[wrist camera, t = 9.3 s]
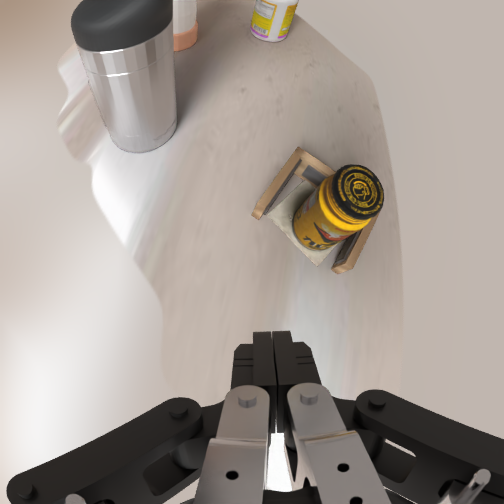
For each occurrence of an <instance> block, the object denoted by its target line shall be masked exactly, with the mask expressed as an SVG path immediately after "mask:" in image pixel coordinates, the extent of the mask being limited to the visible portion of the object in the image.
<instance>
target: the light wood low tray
mask: <svg viewBox="0 0 504 504" xmlns="http://www.w3.org/2000/svg"><path fill="white" fill-rule="evenodd" d="M293 173H294V174H296V175H297V176H299V177H300V178H302V179H303V180H306V181H308V182H309V183H310V184H311V185H312V186H313V187H315V188H317V187H318V186H319V185H320V184H321V182H322V181H323V180H324V179H326V178H327V177H328V176H330V175H333V174H335V173H336V172H335V171H333V170H332V169H331V168H329V167H328V166H326V165H325V164H323V163H322V162H320V161H319V160H318V159H316V158H315V157H313V156H312V155H310V154H309V153H307V152H306V151H304V150H303V149H301V148H300V147H297V149H296V150H295V151H294V153H293V154H292V155H291V157H290V158H289V160H288V161H287V162H286V164H285V165H284V167H283V168H282V169H281V171H280V172H279V173H278V175H277V176H276V178H275V179H274V180H273V182H272V183H271V185H270V186H269V187H268V189H267V190H266V192H265V193H264V194H263V196H262V197H261V199H260V200H259V201H258V203H257V205H256V207H255V209H254V211H253V213H252V216H253V217H255V218H256V219H258V220H259V219H260V217H261V216H262V214H264V215H265V214H266V213H267V211H268V210H269V208H270V207H271V205H272V204H273V203H274V201H275V200H276V198H277V197H278V195H279V194H280V192H281V191H282V189H283V188H284V187H285V185H286V184H287V182H288V181H289V179H290V178H291V176H292V175H293ZM380 211H381V210H380ZM379 213H380V212H379ZM379 213H378V214H377V215H376V216H375V217H372V218H371V220H370V221H369V223H368V224H367V225H366V226H365V227H363V228H362V229H361V230H360V231H358V232H355V233H354V234H352V235H350V236H349V237H348V239H347V241H346V242H345V244H344V246H343V248H342V250H341V252H340V254H339V256H338V258H337V259H336V261H335V263H334V265H333V267H332V269H331V270H332V271H334V272H335V273H337V274H339V273H342V272H345V271H347V270H350V269H353V267H354V265H355V263H356V261H357V259H358V257H359V255H360V253H361V251H362V249H363V247H364V245H365V243H366V241H367V239H368V236H369V234H370V232H371V230H372V228H373V226H374V224H375V221H376V219H377V217H378V215H379Z"/></svg>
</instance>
